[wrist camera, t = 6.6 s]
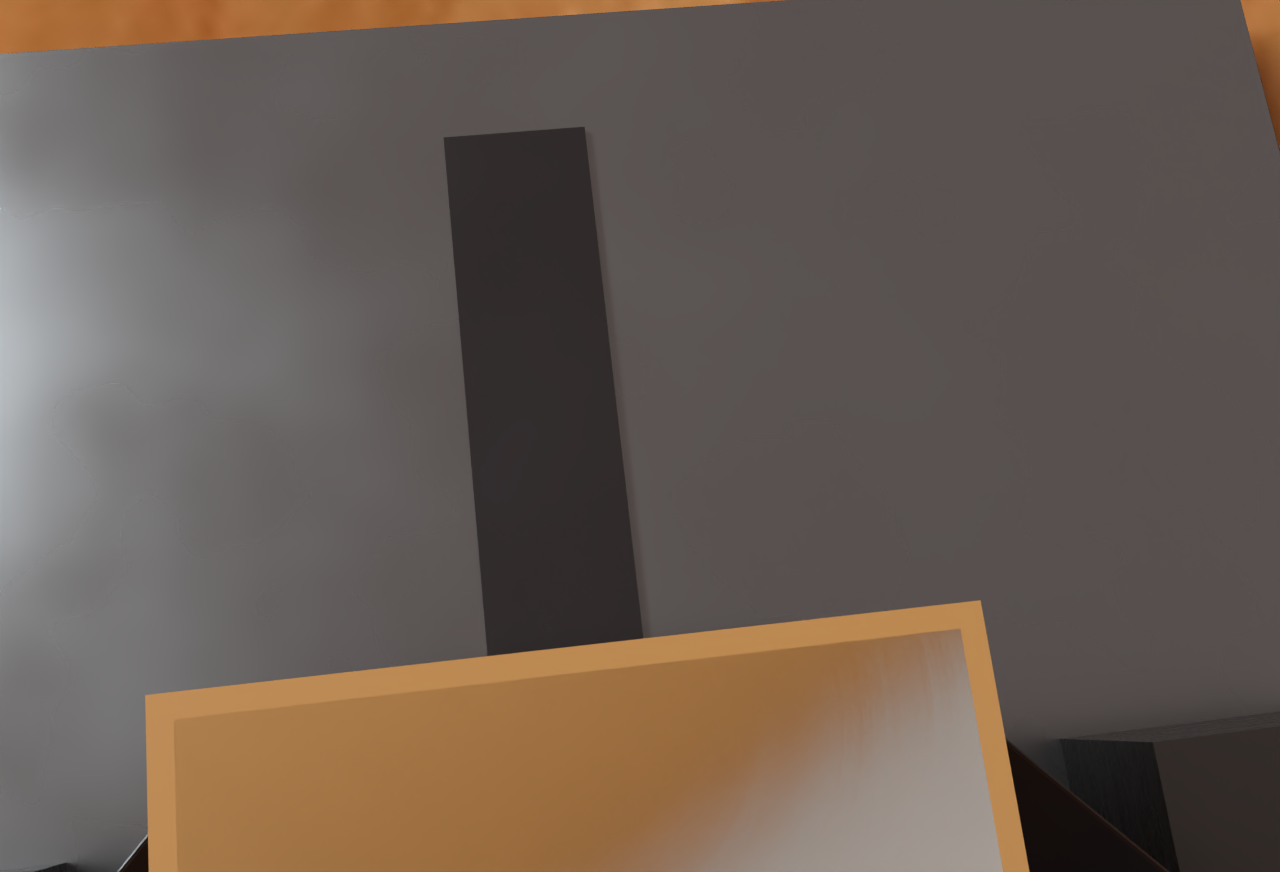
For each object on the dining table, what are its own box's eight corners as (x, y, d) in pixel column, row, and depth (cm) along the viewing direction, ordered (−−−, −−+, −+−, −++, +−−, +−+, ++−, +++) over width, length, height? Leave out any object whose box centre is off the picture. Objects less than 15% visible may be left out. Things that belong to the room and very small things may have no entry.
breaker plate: (1441, 1264, 13) (1806, 1490, 9) (-267, 1551, 12) (-685, 1967, 8) (1154, 58, 17) (1334, -146, 13) (-198, 159, 15) (-465, -38, 11)
